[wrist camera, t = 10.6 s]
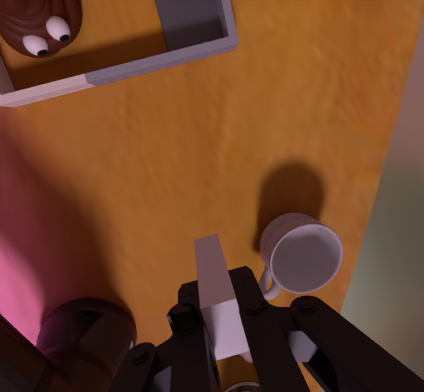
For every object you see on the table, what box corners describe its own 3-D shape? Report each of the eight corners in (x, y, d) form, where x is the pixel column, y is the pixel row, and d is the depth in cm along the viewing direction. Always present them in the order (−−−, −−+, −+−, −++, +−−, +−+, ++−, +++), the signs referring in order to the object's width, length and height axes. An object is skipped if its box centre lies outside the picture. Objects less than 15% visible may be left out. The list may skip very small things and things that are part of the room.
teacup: (295, 192, 43) (319, 208, 35) (330, 240, 46) (359, 264, 38) (226, 246, 44) (235, 272, 37) (264, 289, 47) (280, 322, 40)
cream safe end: (45, -58, 32) (29, -79, 28) (95, 86, 36) (87, 82, 33) (-49, -35, 31) (-76, -54, 28) (14, 107, 36) (-4, 105, 33)
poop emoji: (55, -37, 32) (6, -97, 24) (100, 33, 35) (71, 3, 26) (-13, 10, 33) (-86, -31, 24) (36, 76, 35) (-14, 61, 26)
